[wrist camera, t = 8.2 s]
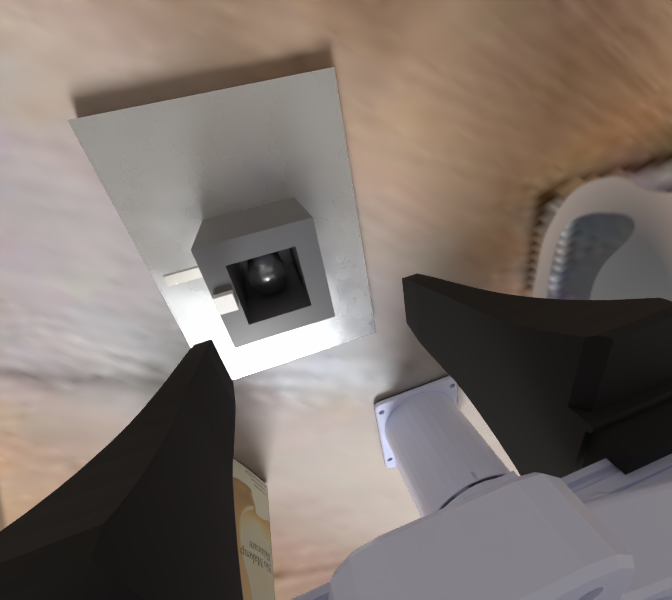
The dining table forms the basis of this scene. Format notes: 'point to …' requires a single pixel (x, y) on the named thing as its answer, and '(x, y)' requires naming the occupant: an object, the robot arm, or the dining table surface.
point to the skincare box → (253, 534)
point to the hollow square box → (253, 241)
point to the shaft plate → (237, 199)
